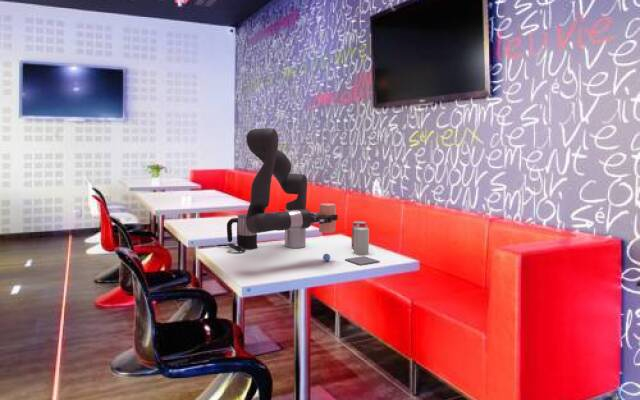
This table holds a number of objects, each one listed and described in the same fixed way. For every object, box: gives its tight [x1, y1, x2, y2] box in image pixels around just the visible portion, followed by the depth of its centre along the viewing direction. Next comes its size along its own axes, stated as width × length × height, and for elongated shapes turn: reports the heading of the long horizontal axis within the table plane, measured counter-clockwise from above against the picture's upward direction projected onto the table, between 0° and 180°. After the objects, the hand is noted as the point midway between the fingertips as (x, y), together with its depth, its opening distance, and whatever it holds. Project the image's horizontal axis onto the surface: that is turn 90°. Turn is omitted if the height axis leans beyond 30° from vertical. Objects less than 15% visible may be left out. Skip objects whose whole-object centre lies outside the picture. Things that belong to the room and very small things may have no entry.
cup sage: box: [353, 227, 370, 256], centre depth 216 cm, size 6×6×11 cm
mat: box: [344, 255, 381, 267], centre depth 202 cm, size 10×10×1 cm
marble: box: [322, 253, 331, 262], centre depth 202 cm, size 3×3×3 cm
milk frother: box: [226, 213, 258, 253], centre depth 221 cm, size 14×16×15 cm
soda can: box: [351, 220, 368, 249], centre depth 227 cm, size 7×7×12 cm
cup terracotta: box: [318, 202, 337, 234], centre depth 200 cm, size 6×6×11 cm
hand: (332, 216), depth 201 cm, fingers closed on cup terracotta, 6 cm apart
